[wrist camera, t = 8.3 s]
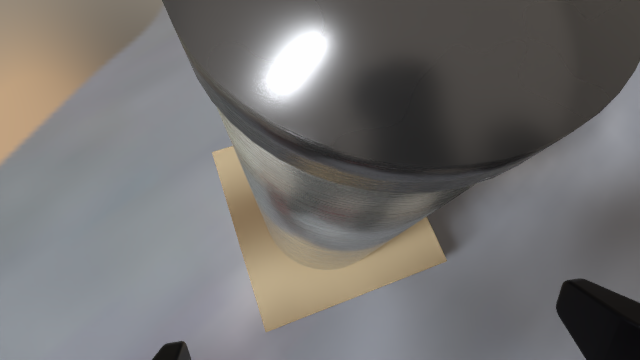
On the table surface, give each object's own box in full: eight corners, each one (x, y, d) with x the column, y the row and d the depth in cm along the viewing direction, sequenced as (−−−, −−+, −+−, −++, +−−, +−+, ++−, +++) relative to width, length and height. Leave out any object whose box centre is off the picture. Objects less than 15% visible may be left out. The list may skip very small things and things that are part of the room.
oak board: (429, 265, 20) (447, 261, 17) (270, 328, 18) (266, 332, 16) (366, 124, 22) (374, 103, 20) (221, 169, 21) (212, 152, 18)
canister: (414, 209, 18) (735, -48, 5) (326, 301, 16) (444, 303, 3) (326, 126, 19) (388, -263, 6) (235, 205, 18) (44, -89, 4)
